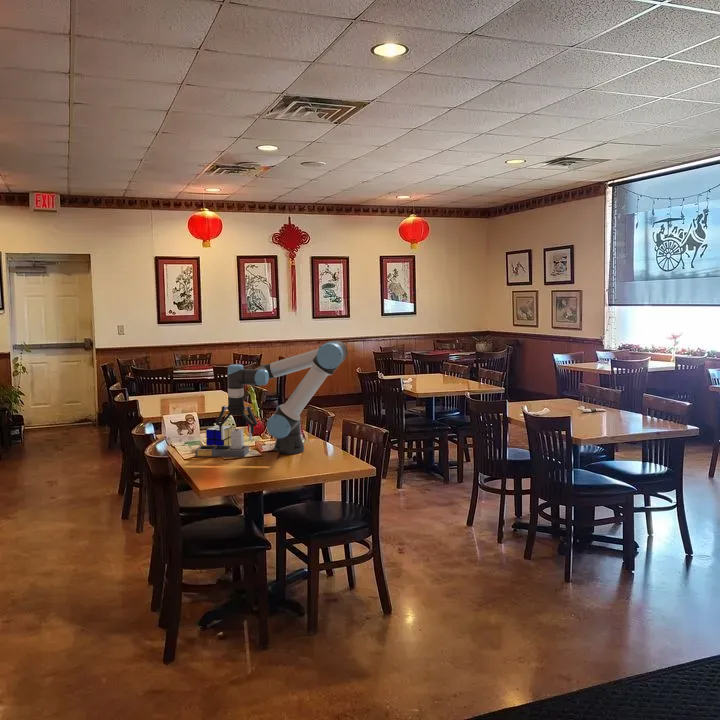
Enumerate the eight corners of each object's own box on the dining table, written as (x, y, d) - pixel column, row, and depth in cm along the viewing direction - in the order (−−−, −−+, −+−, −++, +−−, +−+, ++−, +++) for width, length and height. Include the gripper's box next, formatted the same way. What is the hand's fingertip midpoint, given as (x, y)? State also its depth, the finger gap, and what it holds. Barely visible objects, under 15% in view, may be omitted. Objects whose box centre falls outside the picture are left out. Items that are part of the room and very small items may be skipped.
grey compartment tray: (249, 453, 356) (249, 445, 355) (244, 458, 345) (244, 450, 345) (201, 453, 357) (201, 444, 357) (195, 458, 347) (195, 450, 346)
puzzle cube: (206, 448, 366) (205, 429, 365) (215, 443, 376) (215, 425, 374) (224, 449, 363) (223, 430, 362) (233, 445, 373) (232, 426, 372)
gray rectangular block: (243, 452, 353) (243, 428, 352) (241, 455, 348) (240, 430, 347) (233, 452, 353) (233, 428, 352) (231, 455, 348) (230, 430, 347)
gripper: (263, 395, 350) (263, 438, 353) (212, 394, 352) (213, 437, 354) (260, 398, 343) (260, 441, 345) (208, 397, 344) (209, 440, 347)
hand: (236, 439), depth 350 cm, fingers open, 13 cm apart
